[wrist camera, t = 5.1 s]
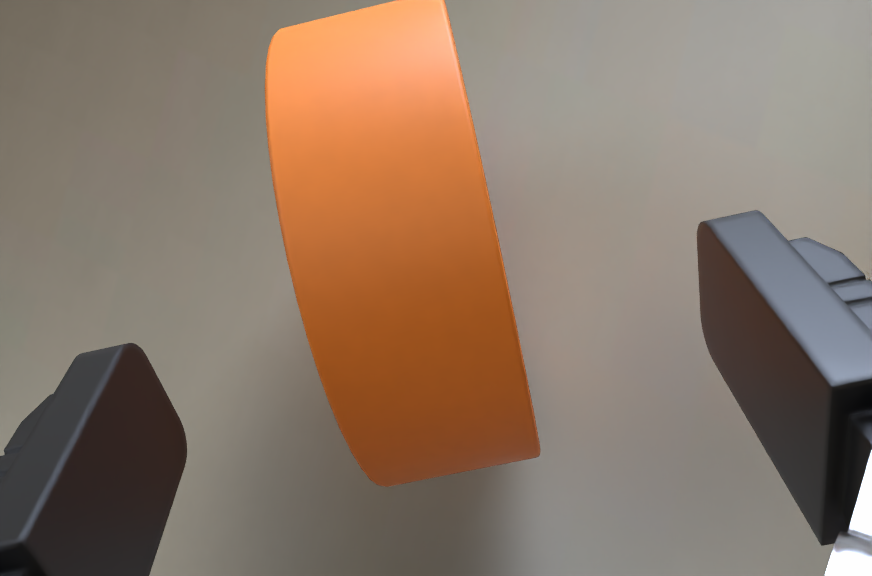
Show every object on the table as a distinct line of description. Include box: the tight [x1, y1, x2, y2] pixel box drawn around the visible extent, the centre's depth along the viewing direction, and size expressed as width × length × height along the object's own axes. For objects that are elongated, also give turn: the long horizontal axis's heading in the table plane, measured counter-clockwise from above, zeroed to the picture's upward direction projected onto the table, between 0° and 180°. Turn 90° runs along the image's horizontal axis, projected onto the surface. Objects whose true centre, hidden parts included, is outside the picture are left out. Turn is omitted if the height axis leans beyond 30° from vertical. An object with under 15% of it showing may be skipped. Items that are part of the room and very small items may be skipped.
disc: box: [265, 0, 540, 487], centre depth 15 cm, size 9×3×9 cm, turn 11°
